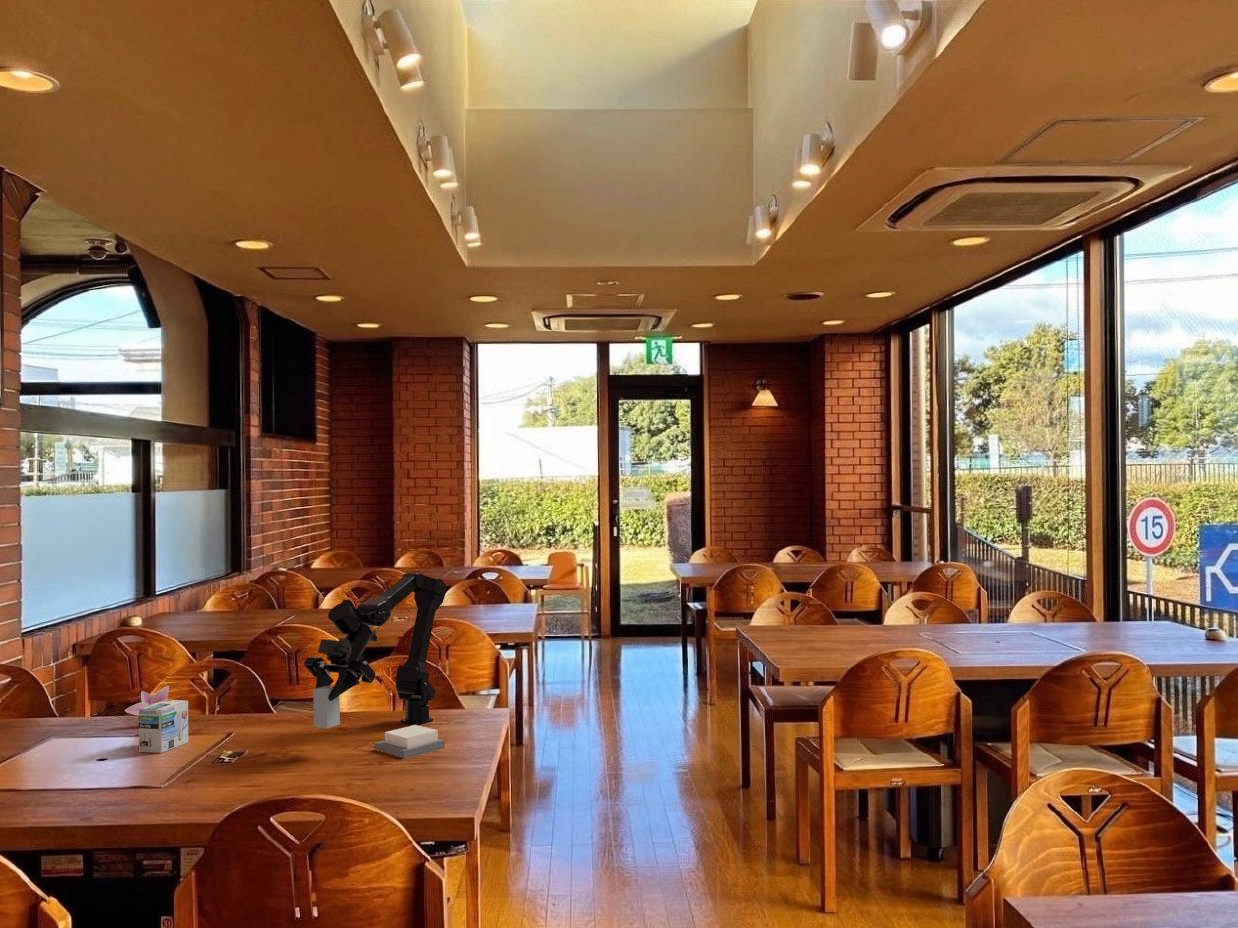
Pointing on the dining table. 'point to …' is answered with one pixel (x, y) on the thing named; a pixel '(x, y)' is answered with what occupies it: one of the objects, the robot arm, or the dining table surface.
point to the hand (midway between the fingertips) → (322, 699)
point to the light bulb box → (163, 726)
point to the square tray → (409, 752)
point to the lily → (149, 700)
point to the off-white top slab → (411, 736)
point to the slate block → (325, 708)
